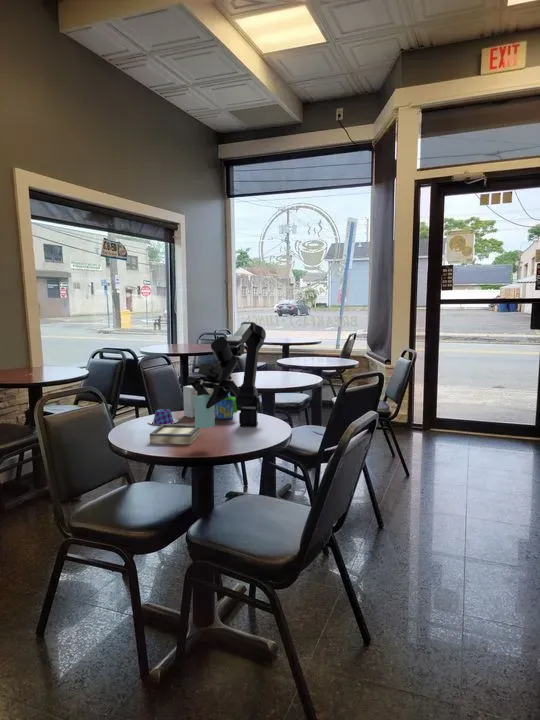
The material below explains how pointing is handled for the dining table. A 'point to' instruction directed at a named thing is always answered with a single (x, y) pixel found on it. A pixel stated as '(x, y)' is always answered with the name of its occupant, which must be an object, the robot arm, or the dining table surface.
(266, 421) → the dining table surface
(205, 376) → the robot arm
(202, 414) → the teal block
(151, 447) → the dining table surface
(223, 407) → the snack cup
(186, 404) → the small box
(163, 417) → the checkered hat
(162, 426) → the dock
